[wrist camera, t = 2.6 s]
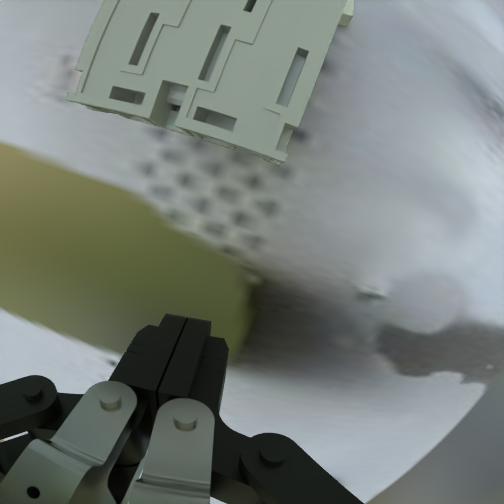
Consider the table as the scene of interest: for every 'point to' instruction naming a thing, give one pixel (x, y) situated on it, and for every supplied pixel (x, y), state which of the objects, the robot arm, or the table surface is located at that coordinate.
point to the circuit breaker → (209, 66)
